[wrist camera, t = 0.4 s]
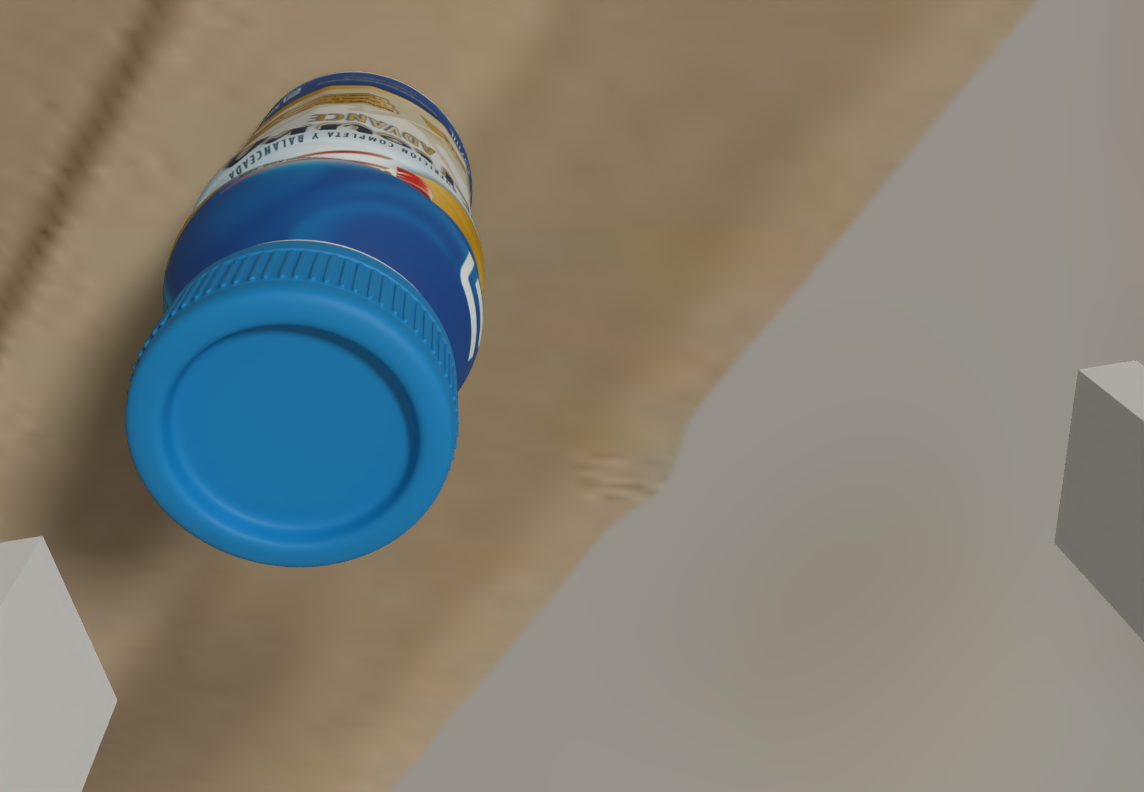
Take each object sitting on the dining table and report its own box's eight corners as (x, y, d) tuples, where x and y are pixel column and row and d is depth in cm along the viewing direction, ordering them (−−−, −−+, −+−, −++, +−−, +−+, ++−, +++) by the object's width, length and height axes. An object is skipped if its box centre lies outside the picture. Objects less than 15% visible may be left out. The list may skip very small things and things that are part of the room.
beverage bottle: (223, 243, 39) (36, 553, 21) (282, 27, 35) (117, 177, 18) (434, 311, 41) (425, 643, 23) (507, 114, 38) (561, 326, 20)
